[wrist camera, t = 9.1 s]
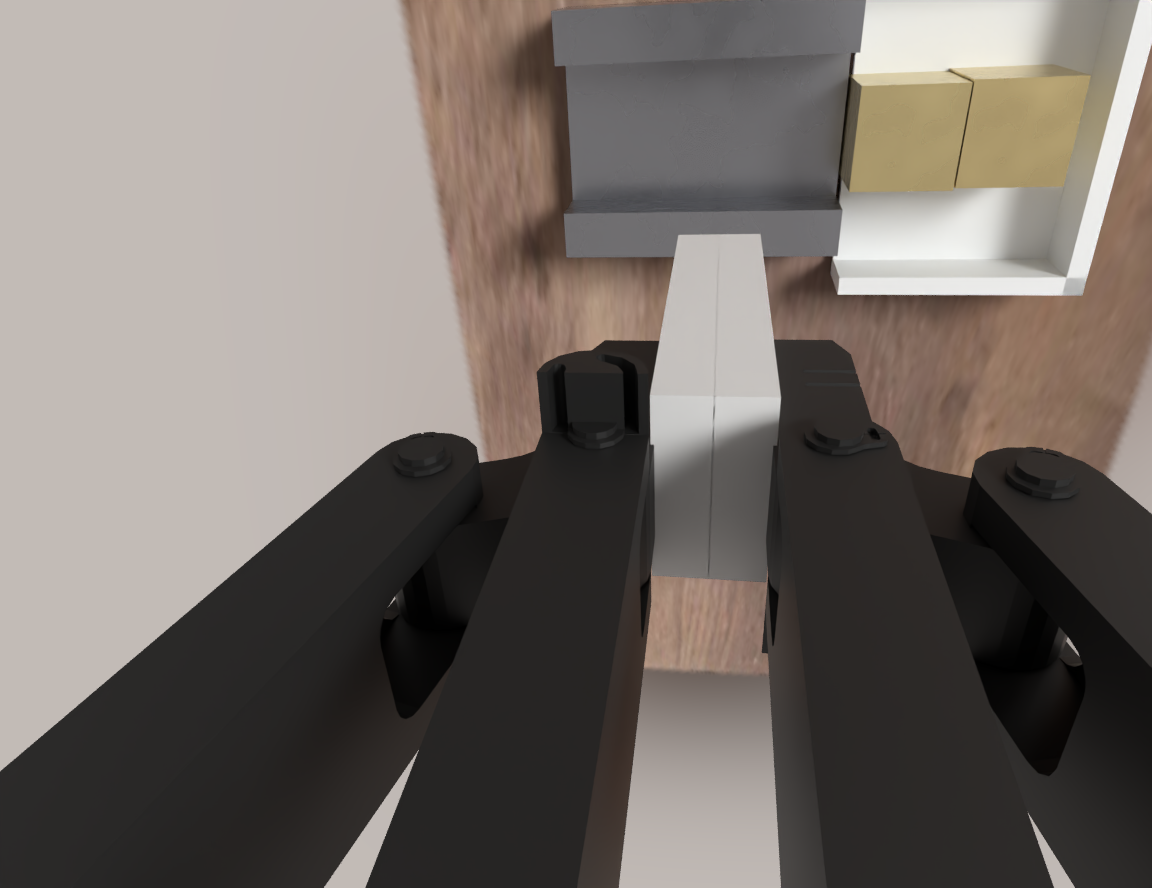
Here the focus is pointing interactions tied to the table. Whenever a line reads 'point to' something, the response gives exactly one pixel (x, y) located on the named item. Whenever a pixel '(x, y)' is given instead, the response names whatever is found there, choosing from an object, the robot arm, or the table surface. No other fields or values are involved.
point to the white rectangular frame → (996, 215)
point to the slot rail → (705, 122)
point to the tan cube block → (903, 131)
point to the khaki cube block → (1020, 125)
